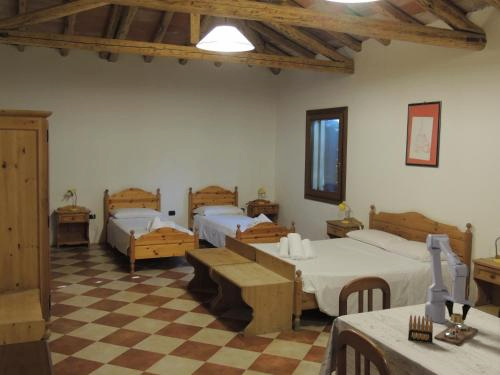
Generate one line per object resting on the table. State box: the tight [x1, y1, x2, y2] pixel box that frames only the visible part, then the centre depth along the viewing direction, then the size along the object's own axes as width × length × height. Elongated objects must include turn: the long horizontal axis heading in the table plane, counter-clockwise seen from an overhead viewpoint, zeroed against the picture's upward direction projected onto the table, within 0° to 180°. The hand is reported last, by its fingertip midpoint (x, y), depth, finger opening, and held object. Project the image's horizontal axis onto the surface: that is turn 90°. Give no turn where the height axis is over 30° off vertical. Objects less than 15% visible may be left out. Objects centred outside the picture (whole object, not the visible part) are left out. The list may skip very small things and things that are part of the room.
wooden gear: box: [450, 312, 465, 324], centre depth 239 cm, size 6×6×3 cm
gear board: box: [433, 323, 479, 346], centre depth 240 cm, size 11×24×1 cm, turn 136°
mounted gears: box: [444, 321, 470, 339], centre depth 239 cm, size 6×20×3 cm, turn 136°
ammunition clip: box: [407, 314, 434, 344], centre depth 232 cm, size 11×2×12 cm, turn 71°
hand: (457, 318), depth 239 cm, fingers closed on wooden gear, 5 cm apart
